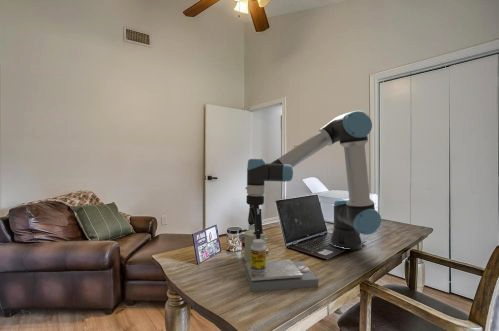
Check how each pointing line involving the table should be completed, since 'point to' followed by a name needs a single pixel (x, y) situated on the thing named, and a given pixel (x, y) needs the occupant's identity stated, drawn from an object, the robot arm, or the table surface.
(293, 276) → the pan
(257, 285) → the scale base
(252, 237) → the can
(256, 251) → the supplement bottle
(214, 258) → the table surface
